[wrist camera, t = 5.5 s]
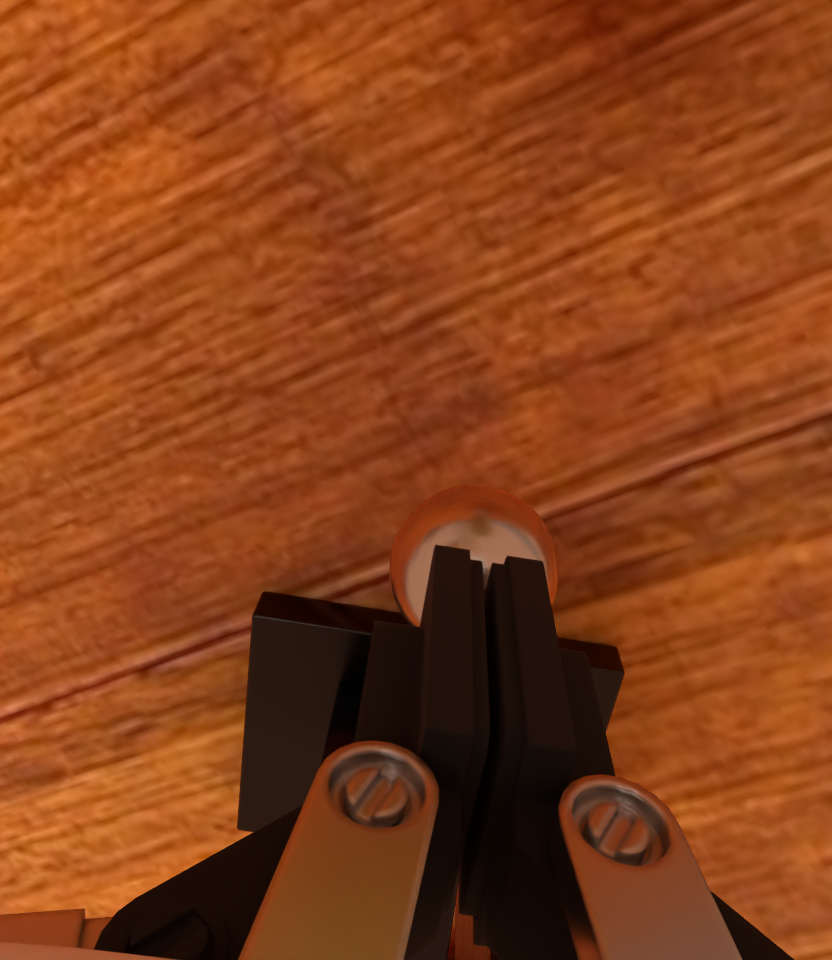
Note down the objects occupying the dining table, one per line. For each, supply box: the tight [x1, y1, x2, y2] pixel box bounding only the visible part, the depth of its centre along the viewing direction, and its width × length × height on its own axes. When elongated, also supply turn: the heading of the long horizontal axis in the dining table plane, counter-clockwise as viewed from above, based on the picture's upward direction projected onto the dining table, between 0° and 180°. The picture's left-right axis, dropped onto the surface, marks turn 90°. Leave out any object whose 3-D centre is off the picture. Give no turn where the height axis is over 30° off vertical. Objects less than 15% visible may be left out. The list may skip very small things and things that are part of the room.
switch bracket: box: [237, 592, 624, 960], centre depth 18 cm, size 8×10×12 cm
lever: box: [390, 485, 559, 960], centre depth 15 cm, size 13×3×3 cm, turn 172°
